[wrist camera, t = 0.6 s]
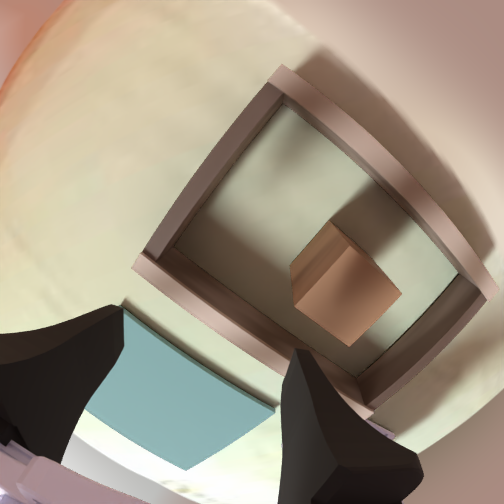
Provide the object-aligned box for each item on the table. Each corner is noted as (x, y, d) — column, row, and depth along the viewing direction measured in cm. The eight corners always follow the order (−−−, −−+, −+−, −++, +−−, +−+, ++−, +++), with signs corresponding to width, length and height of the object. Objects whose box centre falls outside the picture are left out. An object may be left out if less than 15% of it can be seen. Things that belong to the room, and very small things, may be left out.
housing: (473, 270, 19) (499, 289, 16) (354, 390, 23) (362, 421, 20) (281, 81, 17) (281, 63, 13) (153, 249, 21) (130, 268, 17)
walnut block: (370, 257, 20) (402, 293, 14) (332, 299, 21) (349, 346, 15) (329, 220, 19) (349, 245, 14) (289, 265, 21) (293, 306, 15)
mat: (275, 408, 24) (275, 412, 24) (186, 467, 29) (186, 470, 28) (119, 304, 23) (116, 307, 22) (71, 394, 27) (69, 396, 26)
